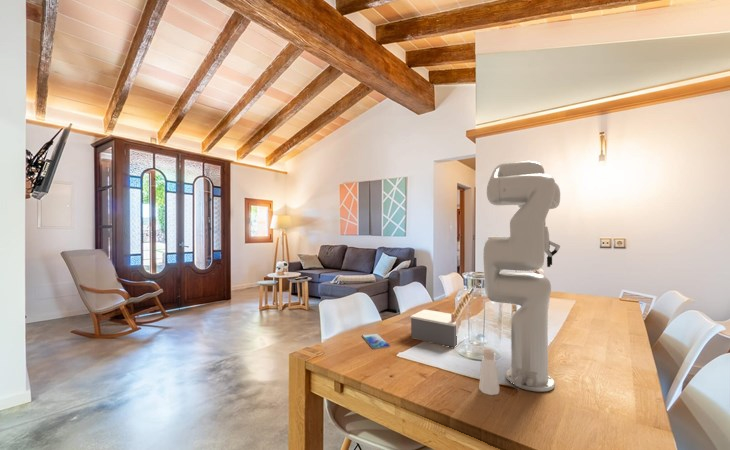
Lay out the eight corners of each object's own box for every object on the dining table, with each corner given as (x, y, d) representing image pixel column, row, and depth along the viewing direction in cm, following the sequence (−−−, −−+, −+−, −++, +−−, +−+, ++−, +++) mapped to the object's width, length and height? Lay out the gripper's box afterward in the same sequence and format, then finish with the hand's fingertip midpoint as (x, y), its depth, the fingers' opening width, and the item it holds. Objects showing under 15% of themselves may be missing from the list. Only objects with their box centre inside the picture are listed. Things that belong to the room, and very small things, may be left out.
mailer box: (454, 348, 118) (454, 326, 118) (411, 338, 128) (411, 318, 128) (465, 338, 127) (465, 318, 127) (424, 330, 138) (424, 311, 138)
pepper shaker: (491, 397, 84) (491, 356, 84) (474, 388, 88) (474, 349, 88) (504, 391, 87) (503, 351, 87) (486, 383, 91) (486, 345, 91)
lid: (454, 326, 117) (454, 316, 117) (410, 318, 128) (410, 308, 128) (466, 318, 127) (465, 308, 127) (424, 311, 138) (424, 302, 138)
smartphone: (377, 333, 134) (391, 346, 120) (377, 335, 134) (391, 348, 120) (361, 334, 132) (372, 347, 117) (361, 336, 132) (372, 350, 117)
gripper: (509, 223, 129) (509, 265, 129) (558, 222, 118) (558, 268, 118) (513, 223, 135) (514, 263, 135) (561, 222, 124) (561, 266, 124)
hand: (535, 265), depth 127 cm, fingers open, 9 cm apart
